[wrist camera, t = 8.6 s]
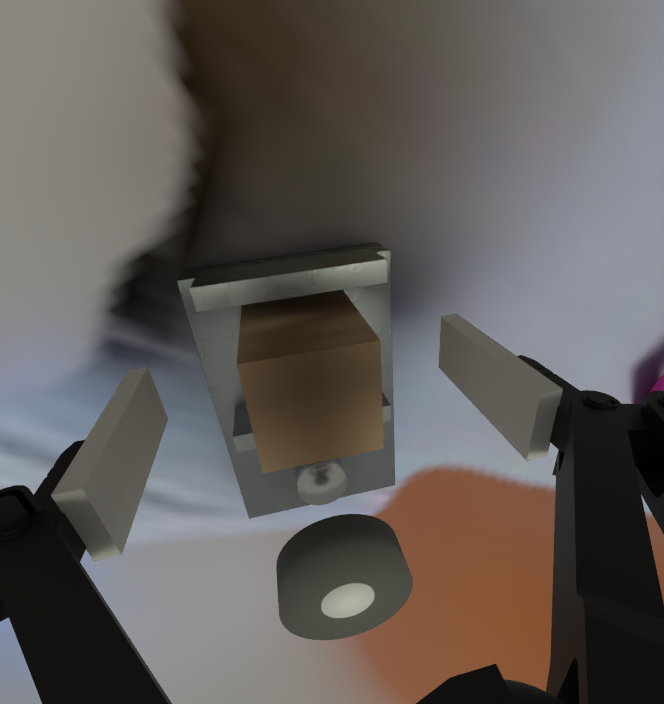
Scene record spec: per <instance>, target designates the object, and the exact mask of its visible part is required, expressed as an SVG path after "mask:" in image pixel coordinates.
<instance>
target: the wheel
mask: <svg viewBox="0 0 664 704" xmlns="http://www.w3.org/2000/svg"><path fill="white" fill-rule="evenodd" d="M277 585H278V602H279V615H280V619H281V622H282V624H283V625H284V627H285V628H286V629H287V630H289V631H290V632H291V633H293V634H295V635H297V636H300V637H303V638H307V639H313V640H333V639H340V638H346V637H350V636H354V635H357V634H360V633H363V632H365V631H368V630H370V629H372V628H374V627H376V626H378V625H380V624H382V623H383V622H385V621H386V620H388V619H389V618H391V617H392V616H393V615H394V614H395V613H397V612H398V611H399V610H400V609H401V608H402V606H403V605H404V604H405V603H406V601H407V600H408V598H409V596H410V594H411V591H412V586H413V582H412V576H411V573H410V571H409V568H408V565H407V563H406V560H405V558H404V555H403V553H402V550H401V548H400V545H399V542H398V540H397V537H396V535H395V533H394V531H393V529H392V528H391V527H390V526H389V525H388V524H387V523H385V522H384V521H382V520H380V519H378V518H375V517H372V516H368V515H361V514H346V515H339V516H333V517H330V518H326V519H323V520H320V521H318V522H315V523H313V524H311V525H309V526H307V527H306V528H304V529H302V530H301V531H299V532H298V533H297V534H295V535H294V536H293V537H292V538H291V539H290V540H289V541H288V542H287V543H286V545H285V546H284V547H283V549H282V551H281V552H280V554H279V556H278V560H277Z"/></svg>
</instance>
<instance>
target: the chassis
mask: <svg viewBox="0 0 664 704" xmlns="http://www.w3.org/2000/svg"><path fill="white" fill-rule="evenodd" d="M177 283H178V287H179V290H180V293H181V296H182V300H183V303H184V306H185V310H186V313H187V316H188V319H189V323H190V326H191V329H192V333H193V336H194V339H195V342H196V346H197V349H198V352H199V356H200V359H201V362H202V365H203V369H204V372H205V375H206V378H207V382H208V385H209V388H210V392H211V395H212V398H213V401H214V405H215V408H216V411H217V415H218V418H219V421H220V424H221V428H222V431H223V434H224V438H225V441H226V444H227V447H228V451H229V454H230V457H231V461H232V464H233V467H234V470H235V474H236V477H237V480H238V484H239V487H240V490H241V493H242V497H243V500H244V503H245V507H246V510H247V513H248V516H249V519H250V518H254V517H258V516H263V515H267V514H271V513H276V512H280V511H284V510H289V509H293V508H297V507H302V506H306V505H310V504H312V505H324V504H328V503H331V502H333V501H335V500H337V499H338V498H341V497H345V496H349V495H354V494H358V493H363V492H367V491H371V490H376V489H380V488H384V487H389V486H393V485H395V457H394V412H393V367H392V322H391V277H390V250H389V249H387V248H385V247H384V246H382V245H380V244H379V243H373V244H366V245H359V246H352V247H345V248H338V249H331V250H323V251H316V252H309V253H302V254H295V255H288V256H281V257H274V258H267V259H260V260H253V261H246V262H238V263H231V264H224V265H217V266H210V267H203V268H196V269H189V270H184V271H183V273H182V274H181V276H180V277H179V279H178V280H177ZM336 291H344V292H345V293H346V295H347V296H348V297H349V299H350V300H351V301H352V303H353V304H354V305H355V307H356V308H357V309H358V311H359V312H360V313H361V315H362V316H363V317H364V319H365V320H366V321H367V323H368V324H369V325H370V327H371V328H372V329H373V331H374V332H375V333H376V335H377V336H378V338H379V339H380V340H381V370H382V407H383V444H384V449H379V450H374V451H369V452H365V453H360V454H355V455H350V456H345V457H340V458H336V459H331V460H326V461H321V462H316V463H312V464H307V465H302V466H297V467H292V468H287V469H283V470H278V471H273V472H268V473H263V472H262V468H261V464H260V460H259V456H258V452H257V448H256V443H255V439H254V435H253V431H252V427H251V423H250V419H249V414H248V410H247V406H246V402H245V398H244V394H243V390H242V385H241V381H240V377H239V373H238V369H237V365H236V364H237V352H238V341H239V329H240V317H241V305H247V304H254V303H261V302H268V301H274V300H281V299H288V298H295V297H302V296H309V295H315V294H322V293H329V292H336Z"/></svg>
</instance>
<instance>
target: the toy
mask: <svg viewBox="0 0 664 704" xmlns="http://www.w3.org/2000/svg"><path fill="white" fill-rule="evenodd" d="M661 390H663V391H664V374H663V376H662V377H661V378H660V379H659V380H658V381H657V383H656V384H655V385H654V386H653V387H652V388H651V390H650V391H649V392H652V391H661ZM649 392H648V393H649ZM646 395H647V394H646Z"/></svg>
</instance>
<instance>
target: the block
mask: <svg viewBox="0 0 664 704" xmlns="http://www.w3.org/2000/svg"><path fill="white" fill-rule="evenodd" d="M236 365H237V369H238V373H239V377H240V381H241V385H242V390H243V394H244V398H245V402H246V406H247V410H248V414H249V419H250V423H251V427H252V431H253V435H254V439H255V443H256V448H257V452H258V456H259V460H260V464H261V468H262V472H263V473H268V472H273V471H278V470H283V469H287V468H292V467H297V466H302V465H307V464H312V463H316V462H321V461H326V460H331V459H336V458H340V457H345V456H350V455H355V454H360V453H365V452H369V451H374V450H379V449H384V444H383V407H382V370H381V340H380V339H379V338H378V336H377V335H376V333H375V332H374V331H373V329H372V328H371V327H370V325H369V324H368V323H367V321H366V320H365V319H364V317H363V316H362V315H361V313H360V312H359V311H358V309H357V308H356V307H355V305H354V304H353V303H352V301H351V300H350V299H349V297H348V296H347V295H346V293H345V292H344V291H336V292H329V293H322V294H315V295H309V296H302V297H295V298H288V299H281V300H274V301H268V302H261V303H254V304H247V305H241V317H240V329H239V341H238V352H237V364H236Z"/></svg>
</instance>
